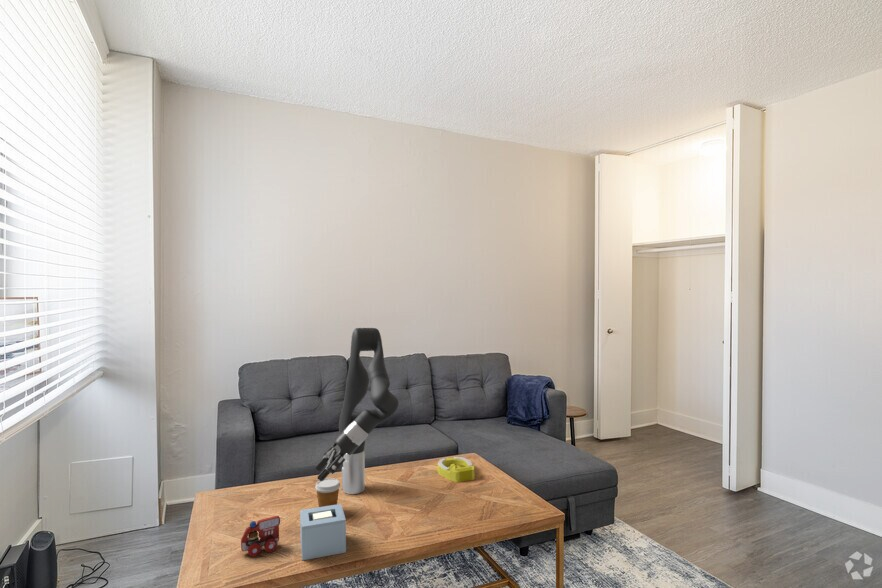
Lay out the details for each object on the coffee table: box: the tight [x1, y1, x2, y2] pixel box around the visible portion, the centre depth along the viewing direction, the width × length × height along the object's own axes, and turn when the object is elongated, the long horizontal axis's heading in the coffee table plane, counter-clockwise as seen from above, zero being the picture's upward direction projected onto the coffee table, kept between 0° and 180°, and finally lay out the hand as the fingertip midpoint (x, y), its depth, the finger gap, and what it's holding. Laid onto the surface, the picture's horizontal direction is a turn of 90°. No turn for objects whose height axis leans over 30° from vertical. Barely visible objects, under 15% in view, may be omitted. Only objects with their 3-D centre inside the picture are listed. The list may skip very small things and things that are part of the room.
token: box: [313, 511, 332, 521], centre depth 161 cm, size 6×4×10 cm, turn 112°
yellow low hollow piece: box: [436, 456, 476, 483], centre depth 224 cm, size 16×21×5 cm
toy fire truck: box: [240, 515, 281, 557], centre depth 159 cm, size 7×12×10 cm, turn 118°
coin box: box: [299, 503, 347, 561], centre depth 161 cm, size 14×12×11 cm
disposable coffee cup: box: [314, 477, 341, 507], centre depth 185 cm, size 10×10×12 cm
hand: (318, 474), depth 160 cm, fingers open, 8 cm apart
